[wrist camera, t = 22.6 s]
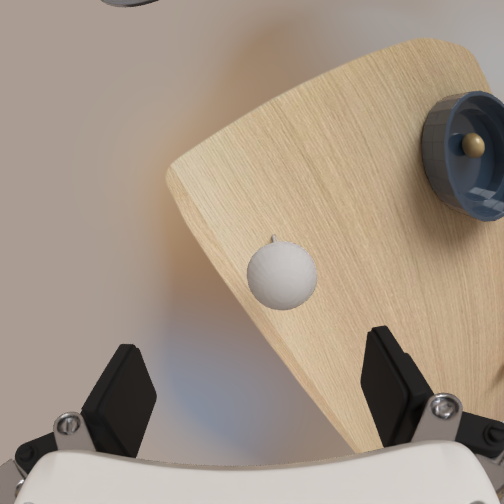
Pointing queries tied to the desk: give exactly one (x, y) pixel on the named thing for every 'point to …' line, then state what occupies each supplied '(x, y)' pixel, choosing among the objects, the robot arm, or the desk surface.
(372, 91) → the desk surface
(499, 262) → the desk surface
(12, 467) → the robot arm
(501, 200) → the bowl
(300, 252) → the lollipop
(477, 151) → the bead
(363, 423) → the desk surface
